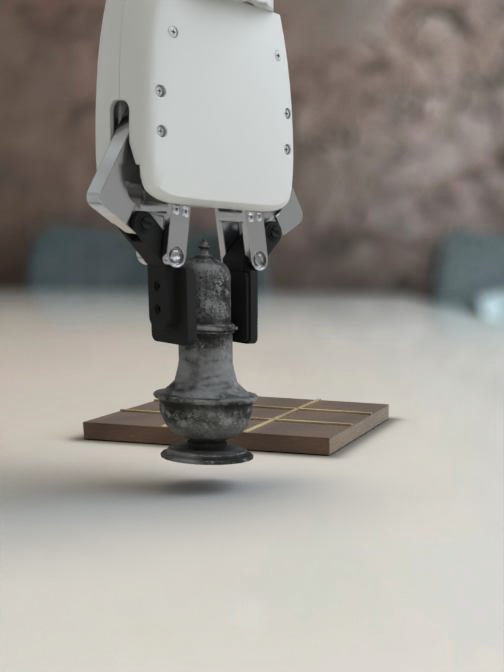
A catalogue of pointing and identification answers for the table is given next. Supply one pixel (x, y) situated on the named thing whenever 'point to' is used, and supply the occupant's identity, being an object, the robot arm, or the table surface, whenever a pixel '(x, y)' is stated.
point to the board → (256, 425)
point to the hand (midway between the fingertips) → (205, 338)
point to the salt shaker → (207, 377)
